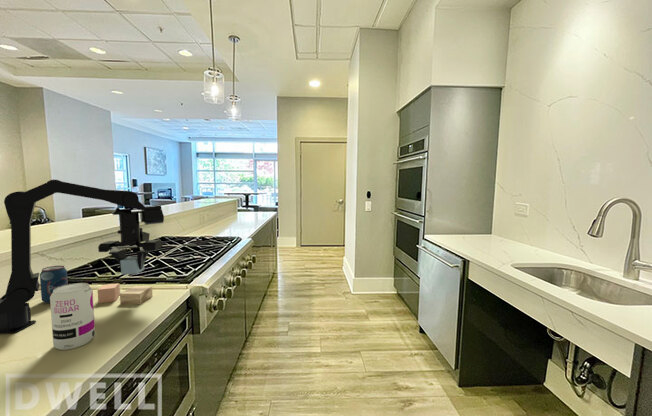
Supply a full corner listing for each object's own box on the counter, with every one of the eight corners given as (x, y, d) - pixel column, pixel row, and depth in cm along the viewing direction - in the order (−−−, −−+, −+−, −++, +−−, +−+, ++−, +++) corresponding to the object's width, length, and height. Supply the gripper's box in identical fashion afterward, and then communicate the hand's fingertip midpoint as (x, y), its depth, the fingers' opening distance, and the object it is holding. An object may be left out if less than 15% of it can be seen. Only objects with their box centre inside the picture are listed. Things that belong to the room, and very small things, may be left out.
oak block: (140, 304, 98) (139, 293, 97) (120, 304, 98) (119, 293, 97) (152, 296, 105) (152, 286, 104) (133, 296, 105) (133, 286, 104)
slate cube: (136, 274, 97) (135, 260, 97) (121, 274, 97) (120, 260, 96) (144, 269, 102) (143, 256, 102) (130, 269, 102) (129, 256, 101)
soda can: (51, 305, 96) (49, 271, 95) (36, 303, 97) (33, 269, 96) (73, 297, 103) (71, 265, 102) (59, 295, 104) (56, 264, 103)
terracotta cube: (115, 301, 100) (114, 287, 99) (98, 303, 98) (97, 289, 98) (120, 296, 104) (119, 283, 104) (103, 297, 103) (103, 284, 102)
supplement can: (91, 330, 80) (88, 280, 78) (98, 341, 74) (95, 287, 73) (51, 343, 73) (47, 288, 72) (56, 355, 68) (52, 296, 67)
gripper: (168, 222, 107) (170, 261, 108) (116, 223, 105) (120, 263, 106) (152, 227, 96) (156, 271, 97) (95, 228, 94) (99, 273, 95)
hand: (133, 269), depth 99 cm, fingers closed on slate cube, 5 cm apart
